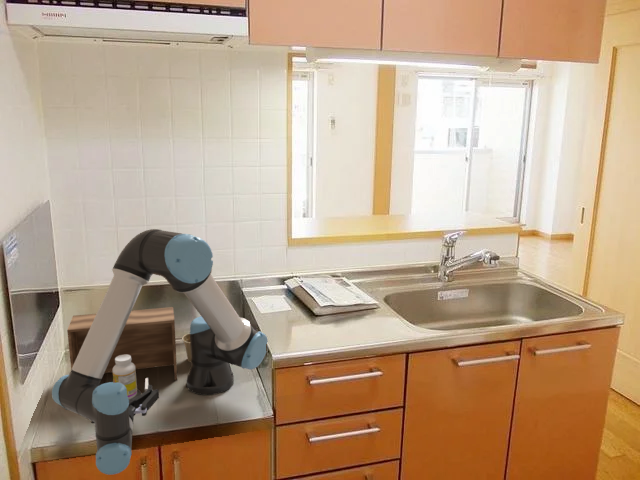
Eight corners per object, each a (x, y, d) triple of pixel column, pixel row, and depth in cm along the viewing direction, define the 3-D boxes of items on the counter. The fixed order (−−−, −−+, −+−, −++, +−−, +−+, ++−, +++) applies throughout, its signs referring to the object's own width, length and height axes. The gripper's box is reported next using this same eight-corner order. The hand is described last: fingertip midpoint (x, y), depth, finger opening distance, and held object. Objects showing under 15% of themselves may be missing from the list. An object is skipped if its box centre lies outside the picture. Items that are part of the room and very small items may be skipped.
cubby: (177, 379, 172) (174, 320, 167) (73, 393, 163) (67, 330, 158) (175, 363, 183) (173, 307, 179) (78, 375, 174) (73, 315, 169)
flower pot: (203, 366, 182) (202, 343, 180) (178, 363, 183) (177, 341, 181) (213, 355, 190) (213, 333, 189) (190, 352, 192) (189, 330, 190)
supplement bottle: (116, 391, 163) (113, 353, 160) (138, 389, 165) (135, 351, 162) (113, 402, 157) (109, 363, 154) (136, 399, 158) (133, 361, 155)
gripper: (64, 446, 128) (77, 402, 148) (169, 431, 136) (167, 391, 155) (62, 419, 127) (74, 379, 146) (167, 405, 134) (166, 368, 154)
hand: (122, 385), depth 151 cm, fingers open, 13 cm apart
